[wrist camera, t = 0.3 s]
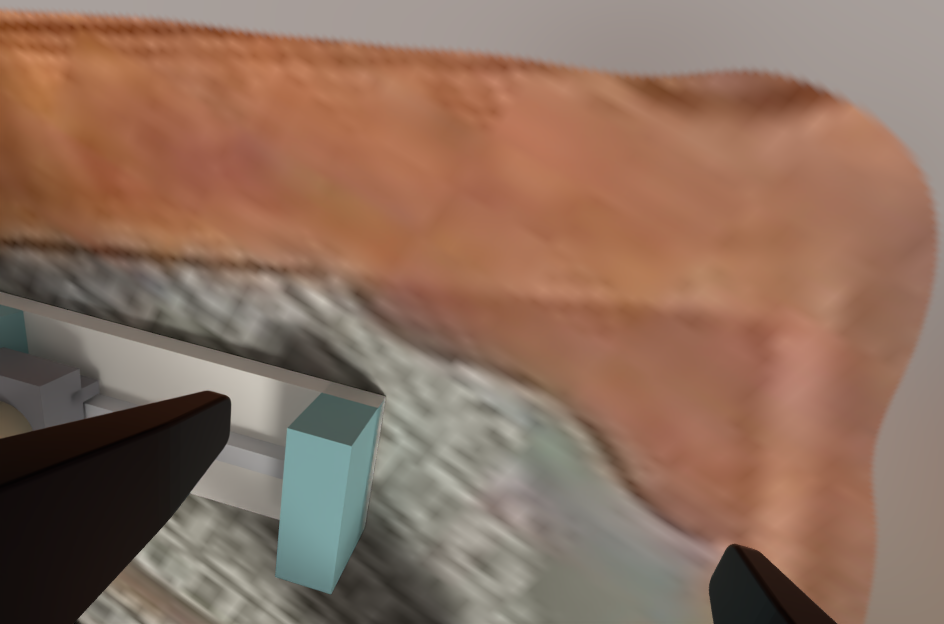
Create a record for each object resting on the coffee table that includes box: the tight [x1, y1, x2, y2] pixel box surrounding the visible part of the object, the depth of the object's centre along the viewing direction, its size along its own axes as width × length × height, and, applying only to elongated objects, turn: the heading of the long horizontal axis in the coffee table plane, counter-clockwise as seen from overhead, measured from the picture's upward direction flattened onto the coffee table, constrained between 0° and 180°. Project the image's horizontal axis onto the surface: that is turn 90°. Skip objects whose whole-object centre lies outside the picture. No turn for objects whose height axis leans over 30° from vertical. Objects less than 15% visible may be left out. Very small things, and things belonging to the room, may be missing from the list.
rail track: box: [0, 292, 386, 594], centre depth 25 cm, size 9×23×4 cm, turn 78°
